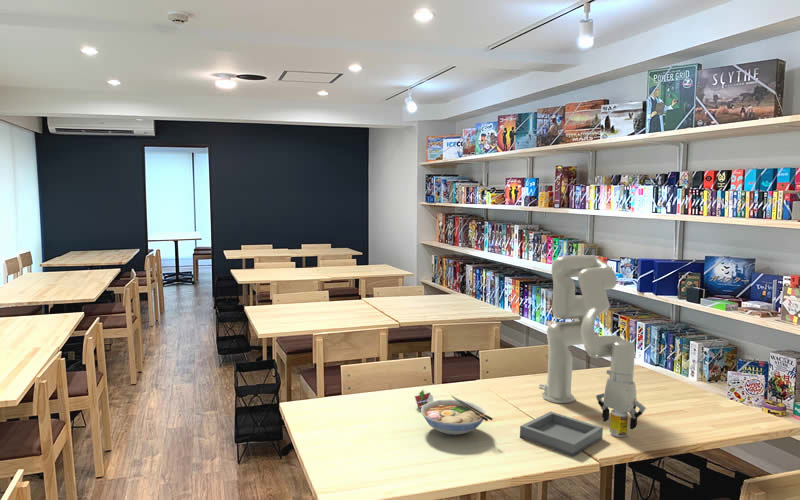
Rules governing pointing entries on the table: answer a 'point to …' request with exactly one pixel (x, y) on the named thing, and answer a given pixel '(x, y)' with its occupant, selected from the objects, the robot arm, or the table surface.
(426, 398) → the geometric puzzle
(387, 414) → the table surface
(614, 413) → the supplement bottle
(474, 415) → the ramen bowl
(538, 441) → the tray
